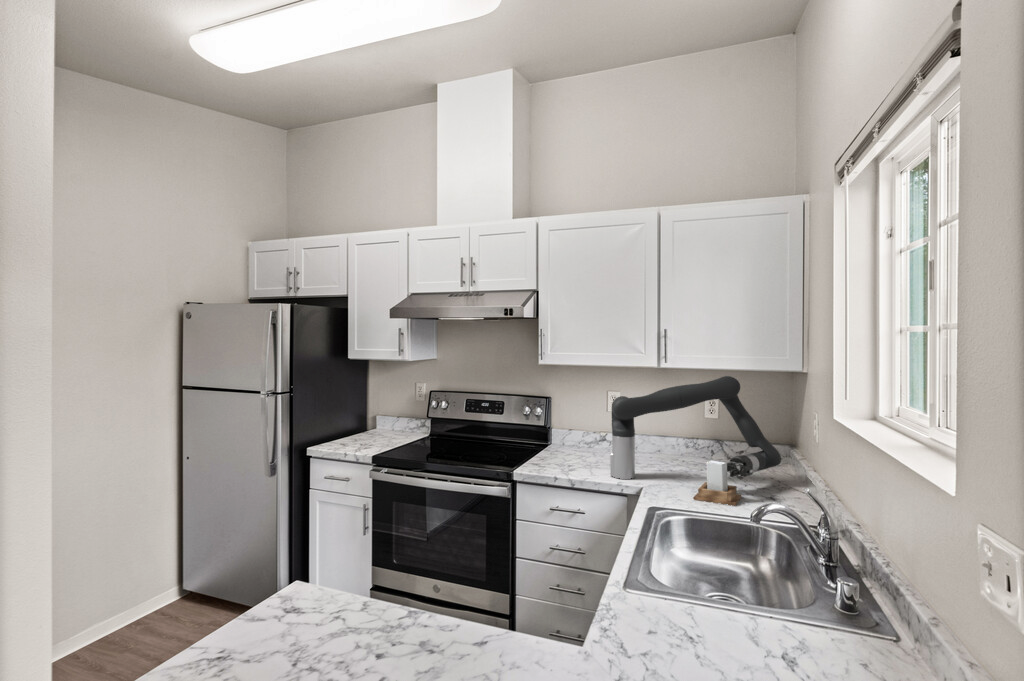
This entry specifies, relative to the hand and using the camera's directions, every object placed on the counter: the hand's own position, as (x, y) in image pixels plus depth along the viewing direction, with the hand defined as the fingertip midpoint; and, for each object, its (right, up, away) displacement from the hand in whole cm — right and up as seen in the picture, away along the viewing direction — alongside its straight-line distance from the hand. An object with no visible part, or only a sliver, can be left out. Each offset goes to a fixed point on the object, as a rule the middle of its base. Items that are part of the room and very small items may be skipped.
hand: (720, 471), depth 199 cm
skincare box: (-1, -9, 0) cm, 9 cm away
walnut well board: (-1, -10, -1) cm, 10 cm away
